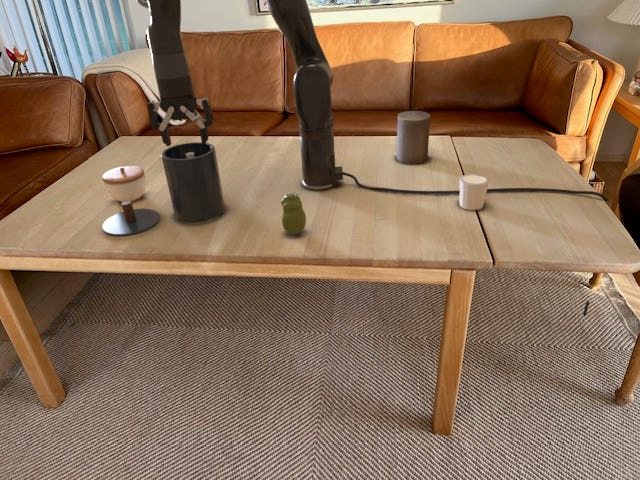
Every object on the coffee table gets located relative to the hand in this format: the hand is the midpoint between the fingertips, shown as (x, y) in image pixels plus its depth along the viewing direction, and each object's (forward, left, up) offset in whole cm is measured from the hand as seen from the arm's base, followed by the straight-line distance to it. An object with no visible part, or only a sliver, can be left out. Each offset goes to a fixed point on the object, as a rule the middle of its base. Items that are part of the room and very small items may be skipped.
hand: (186, 144), depth 114 cm
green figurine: (-25, +13, -19) cm, 34 cm away
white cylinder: (-69, +3, -19) cm, 71 cm away
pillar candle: (-60, -31, -19) cm, 70 cm away
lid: (+16, +5, -18) cm, 25 cm away
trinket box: (+22, -11, -19) cm, 31 cm away
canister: (0, 0, -19) cm, 19 cm away
